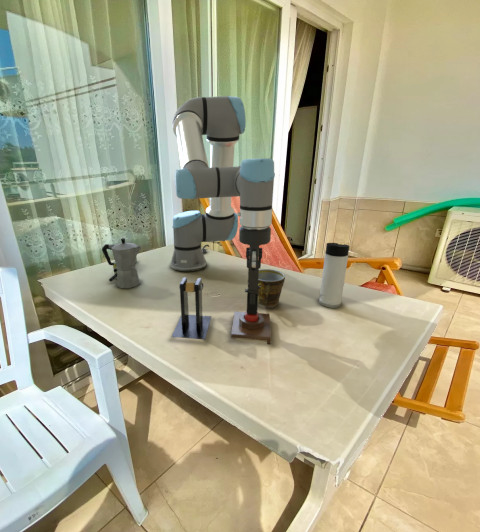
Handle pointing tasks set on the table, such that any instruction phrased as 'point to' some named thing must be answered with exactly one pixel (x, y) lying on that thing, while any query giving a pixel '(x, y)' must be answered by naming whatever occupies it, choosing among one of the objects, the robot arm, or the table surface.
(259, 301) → the ceramic cup
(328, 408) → the table surface
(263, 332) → the button block
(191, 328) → the switch bracket
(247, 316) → the button
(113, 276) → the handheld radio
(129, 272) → the coffeepot
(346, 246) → the travel mug
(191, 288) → the switch lever
